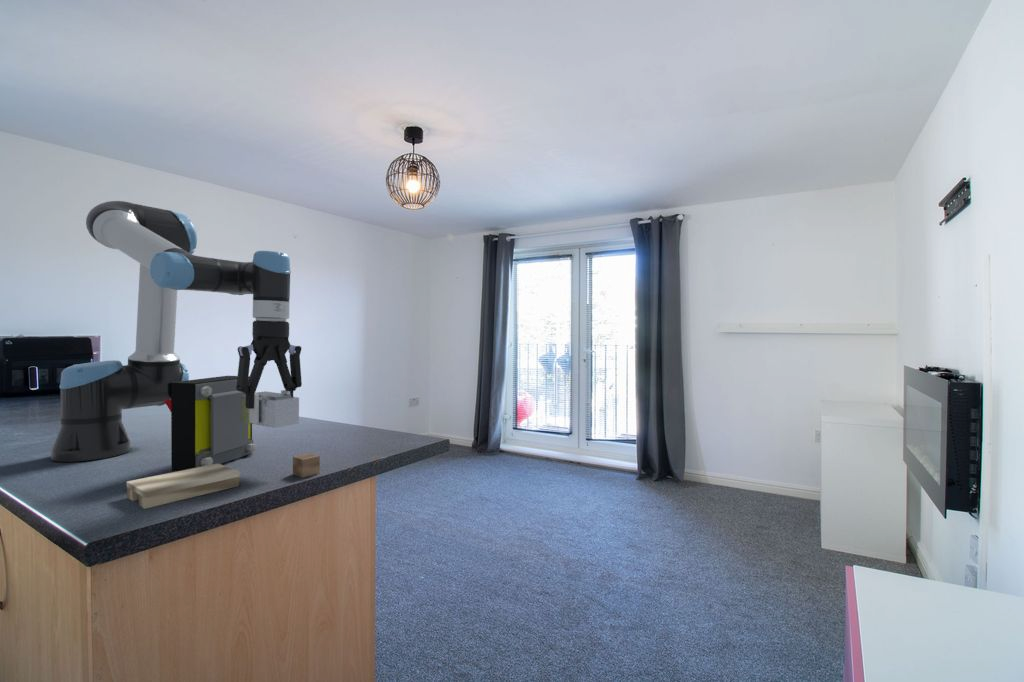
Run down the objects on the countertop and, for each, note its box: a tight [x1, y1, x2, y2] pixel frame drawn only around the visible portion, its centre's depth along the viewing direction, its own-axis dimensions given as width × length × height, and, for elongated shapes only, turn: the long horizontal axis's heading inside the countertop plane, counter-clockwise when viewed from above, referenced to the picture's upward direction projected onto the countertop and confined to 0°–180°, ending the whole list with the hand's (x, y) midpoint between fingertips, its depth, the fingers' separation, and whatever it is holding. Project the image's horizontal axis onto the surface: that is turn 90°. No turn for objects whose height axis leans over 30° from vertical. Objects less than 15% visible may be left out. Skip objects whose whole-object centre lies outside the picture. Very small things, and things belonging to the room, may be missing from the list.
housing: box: [241, 391, 300, 429], centre depth 110 cm, size 12×6×7 cm, turn 62°
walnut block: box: [292, 452, 321, 478], centre depth 107 cm, size 4×4×4 cm
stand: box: [126, 463, 241, 510], centre depth 94 cm, size 10×16×3 cm, turn 144°
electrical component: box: [165, 375, 257, 472], centre depth 116 cm, size 18×10×20 cm, turn 168°
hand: (269, 420), depth 110 cm, fingers closed on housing, 6 cm apart
